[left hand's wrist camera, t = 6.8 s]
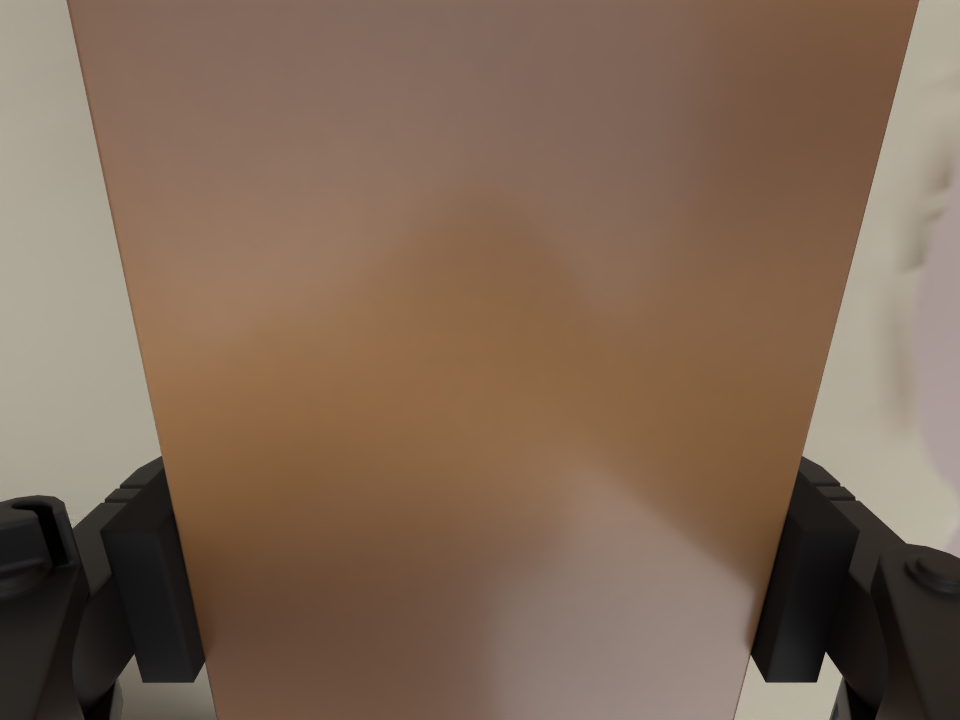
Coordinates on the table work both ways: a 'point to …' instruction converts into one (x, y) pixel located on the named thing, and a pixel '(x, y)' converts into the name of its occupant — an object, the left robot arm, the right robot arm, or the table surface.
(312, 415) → the slab
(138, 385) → the table surface
